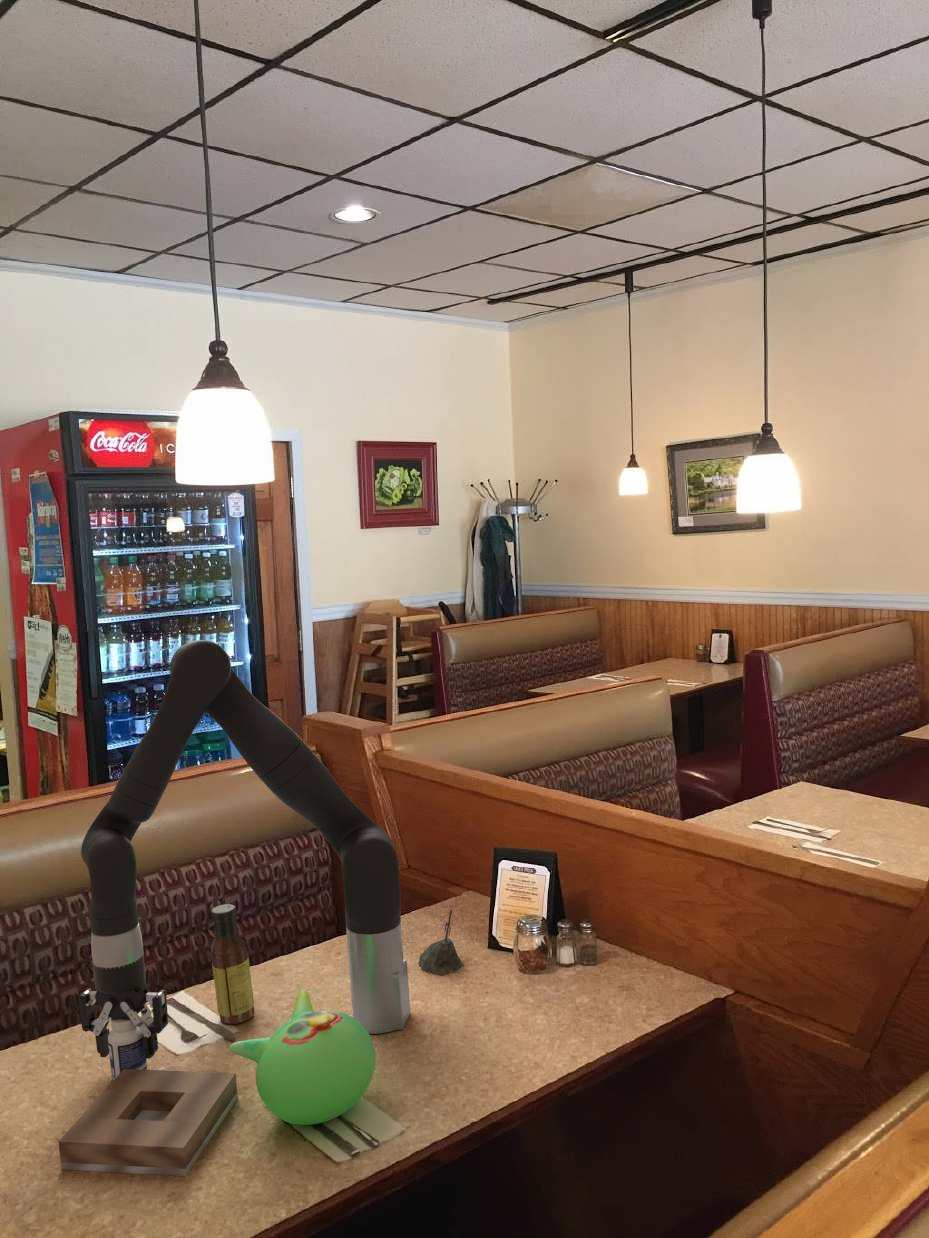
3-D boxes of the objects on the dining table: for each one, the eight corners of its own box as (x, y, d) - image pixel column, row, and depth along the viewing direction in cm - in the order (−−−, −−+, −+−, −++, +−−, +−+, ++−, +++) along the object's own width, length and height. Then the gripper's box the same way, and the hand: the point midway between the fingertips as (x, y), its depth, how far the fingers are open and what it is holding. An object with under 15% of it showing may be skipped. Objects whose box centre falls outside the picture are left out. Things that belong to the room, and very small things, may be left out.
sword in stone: (408, 962, 196) (406, 901, 195) (442, 952, 201) (440, 892, 200) (436, 980, 188) (434, 916, 187) (471, 969, 192) (469, 907, 191)
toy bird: (321, 1161, 137) (313, 1057, 135) (230, 1127, 146) (221, 1029, 144) (399, 1092, 152) (393, 998, 150) (313, 1065, 161) (305, 976, 159)
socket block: (237, 1098, 153) (235, 1072, 152) (186, 1176, 135) (183, 1147, 135) (126, 1093, 156) (123, 1068, 156) (61, 1169, 138) (58, 1141, 138)
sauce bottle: (259, 1008, 181) (250, 900, 179) (248, 1026, 175) (239, 914, 173) (223, 1008, 182) (214, 901, 179) (211, 1026, 175) (201, 915, 173)
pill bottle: (154, 1068, 163) (149, 1010, 162) (133, 1086, 158) (127, 1027, 157) (126, 1064, 165) (120, 1006, 164) (104, 1082, 160) (98, 1023, 159)
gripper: (171, 945, 162) (181, 1044, 163) (88, 944, 164) (98, 1041, 166) (149, 966, 154) (159, 1070, 156) (62, 965, 157) (73, 1066, 158)
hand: (128, 1055), depth 161 cm, fingers open, 7 cm apart
